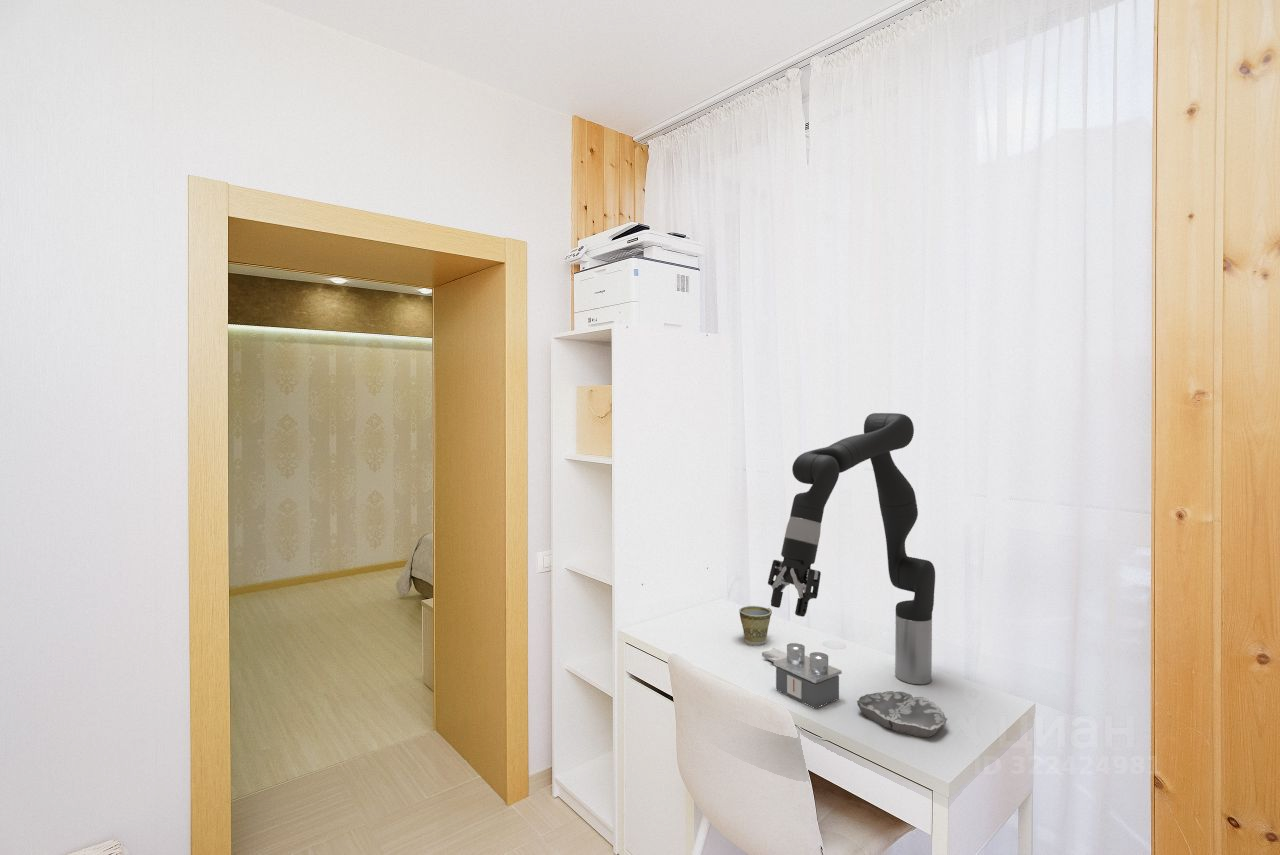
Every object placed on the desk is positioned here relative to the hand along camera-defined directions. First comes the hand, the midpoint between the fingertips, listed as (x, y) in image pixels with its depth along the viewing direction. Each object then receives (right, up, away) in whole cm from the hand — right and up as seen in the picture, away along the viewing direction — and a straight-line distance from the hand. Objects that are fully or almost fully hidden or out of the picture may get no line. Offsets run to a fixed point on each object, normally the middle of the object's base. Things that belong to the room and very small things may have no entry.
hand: (786, 611), depth 139 cm
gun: (+10, -29, +40) cm, 50 cm away
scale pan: (+11, -22, +23) cm, 34 cm away
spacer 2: (+13, -21, +20) cm, 32 cm away
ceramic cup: (+5, -28, +61) cm, 67 cm away
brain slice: (+30, -29, +11) cm, 44 cm away
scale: (+11, -29, +24) cm, 39 cm away
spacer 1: (+9, -21, +26) cm, 35 cm away
